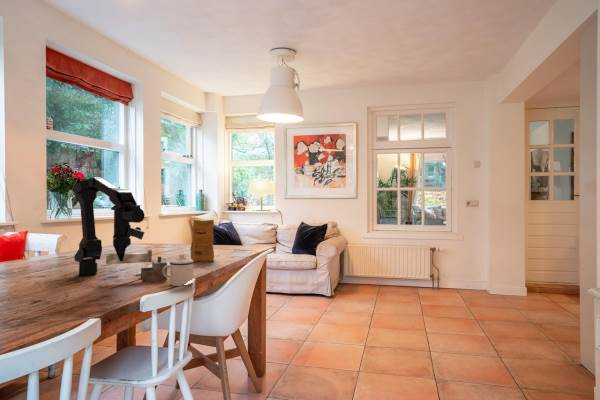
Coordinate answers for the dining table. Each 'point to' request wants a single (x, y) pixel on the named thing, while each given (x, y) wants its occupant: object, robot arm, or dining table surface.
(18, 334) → the dining table surface
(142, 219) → the robot arm
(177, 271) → the teacup with lid
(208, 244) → the coffee package
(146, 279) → the knobbed grey box
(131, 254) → the rail
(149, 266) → the baseboard molding
